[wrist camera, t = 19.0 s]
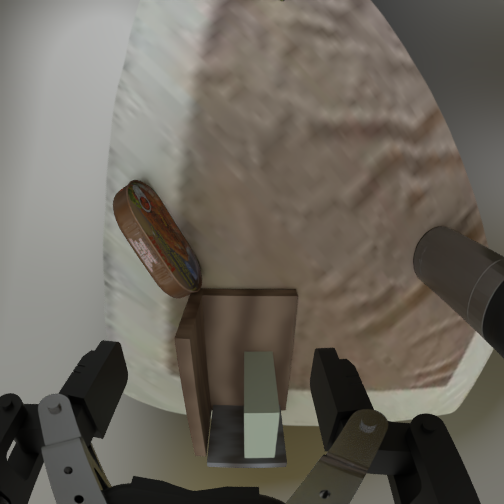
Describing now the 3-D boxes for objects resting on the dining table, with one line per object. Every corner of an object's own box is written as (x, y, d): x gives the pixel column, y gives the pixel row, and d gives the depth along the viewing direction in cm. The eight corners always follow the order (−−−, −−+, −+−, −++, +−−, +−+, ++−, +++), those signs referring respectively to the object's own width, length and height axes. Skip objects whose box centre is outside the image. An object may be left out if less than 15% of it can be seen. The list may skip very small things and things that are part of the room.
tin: (207, 272, 41) (198, 302, 33) (187, 283, 41) (175, 314, 33) (146, 175, 37) (121, 182, 29) (127, 188, 37) (99, 199, 29)
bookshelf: (295, 289, 42) (315, 350, 29) (284, 402, 49) (292, 466, 36) (192, 288, 41) (170, 349, 28) (203, 401, 49) (194, 465, 35)
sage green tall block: (272, 351, 43) (279, 412, 31) (269, 398, 46) (274, 457, 35) (244, 351, 43) (244, 413, 31) (244, 399, 46) (244, 458, 34)
